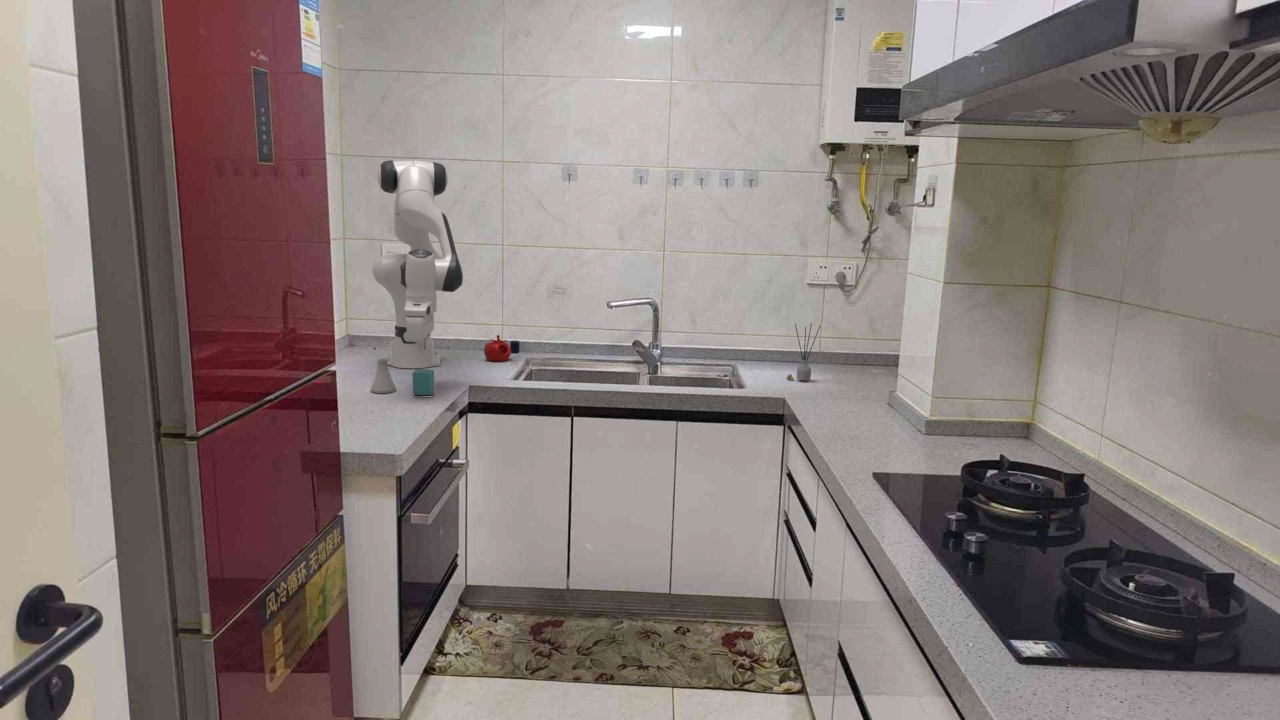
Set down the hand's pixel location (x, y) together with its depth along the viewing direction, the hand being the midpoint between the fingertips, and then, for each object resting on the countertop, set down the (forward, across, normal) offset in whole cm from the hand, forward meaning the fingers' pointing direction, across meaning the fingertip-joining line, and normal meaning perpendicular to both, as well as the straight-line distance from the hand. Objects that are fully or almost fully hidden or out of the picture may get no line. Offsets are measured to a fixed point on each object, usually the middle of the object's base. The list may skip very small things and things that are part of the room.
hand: (421, 351), depth 249 cm
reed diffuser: (+12, -26, +122) cm, 125 cm away
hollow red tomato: (+15, -55, +16) cm, 59 cm away
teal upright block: (+12, +3, +1) cm, 12 cm away
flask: (+14, -2, -12) cm, 18 cm away
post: (+13, +3, +1) cm, 13 cm away
